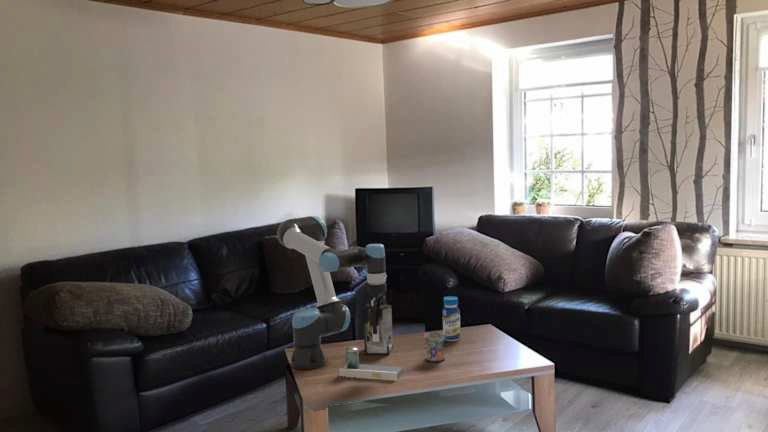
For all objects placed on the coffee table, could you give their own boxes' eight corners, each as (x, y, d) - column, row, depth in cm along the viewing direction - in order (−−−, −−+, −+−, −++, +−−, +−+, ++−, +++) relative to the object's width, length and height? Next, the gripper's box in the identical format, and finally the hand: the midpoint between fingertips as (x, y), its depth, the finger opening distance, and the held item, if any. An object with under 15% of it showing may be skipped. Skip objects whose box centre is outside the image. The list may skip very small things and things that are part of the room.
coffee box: (366, 344, 247) (364, 305, 246) (376, 340, 252) (374, 301, 251) (383, 348, 242) (381, 308, 240) (393, 343, 247) (391, 304, 245)
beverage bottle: (459, 335, 295) (458, 295, 293) (462, 341, 287) (460, 299, 285) (442, 336, 295) (440, 296, 293) (444, 342, 287) (442, 300, 285)
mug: (448, 362, 260) (447, 337, 258) (426, 363, 259) (425, 339, 257) (442, 353, 271) (441, 329, 270) (421, 354, 270) (420, 331, 269)
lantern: (393, 347, 283) (390, 287, 280) (389, 355, 272) (386, 293, 269) (369, 347, 284) (366, 288, 282) (364, 355, 273) (361, 293, 271)
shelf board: (339, 376, 248) (339, 368, 248) (348, 368, 258) (347, 360, 257) (396, 380, 241) (395, 373, 240) (402, 371, 250) (402, 364, 250)
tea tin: (344, 369, 250) (343, 350, 249) (349, 365, 255) (348, 346, 254) (356, 370, 249) (355, 351, 248) (361, 365, 254) (360, 347, 253)
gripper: (377, 288, 234) (380, 346, 236) (393, 277, 253) (395, 331, 255) (359, 288, 236) (362, 345, 238) (376, 277, 255) (378, 330, 258)
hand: (379, 338), depth 247 cm, fingers closed on coffee box, 8 cm apart
